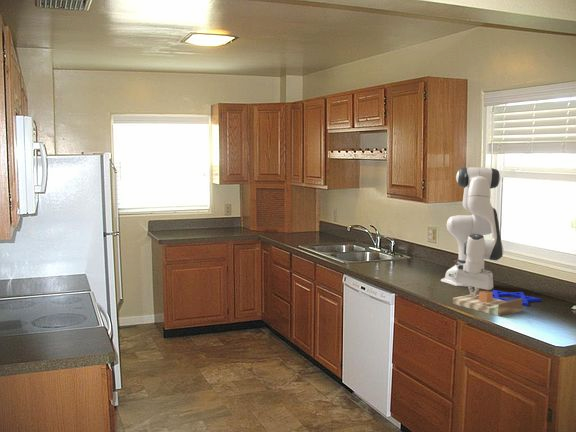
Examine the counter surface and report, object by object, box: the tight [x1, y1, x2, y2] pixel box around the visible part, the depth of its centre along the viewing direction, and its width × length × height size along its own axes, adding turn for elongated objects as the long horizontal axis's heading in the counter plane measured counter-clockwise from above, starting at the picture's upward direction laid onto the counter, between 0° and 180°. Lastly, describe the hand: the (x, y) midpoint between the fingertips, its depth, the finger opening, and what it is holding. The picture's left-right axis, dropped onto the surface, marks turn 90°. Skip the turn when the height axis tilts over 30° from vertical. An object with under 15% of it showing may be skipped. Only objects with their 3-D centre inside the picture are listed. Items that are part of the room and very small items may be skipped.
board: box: [452, 293, 523, 317], centre depth 299 cm, size 27×17×6 cm, turn 36°
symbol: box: [492, 289, 542, 307], centre depth 317 cm, size 26×2×30 cm
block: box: [478, 290, 493, 303], centre depth 300 cm, size 4×4×4 cm
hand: (473, 295), depth 306 cm, fingers closed
